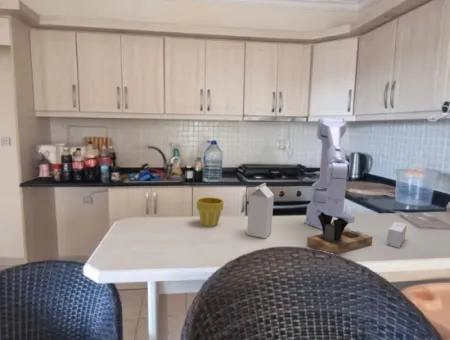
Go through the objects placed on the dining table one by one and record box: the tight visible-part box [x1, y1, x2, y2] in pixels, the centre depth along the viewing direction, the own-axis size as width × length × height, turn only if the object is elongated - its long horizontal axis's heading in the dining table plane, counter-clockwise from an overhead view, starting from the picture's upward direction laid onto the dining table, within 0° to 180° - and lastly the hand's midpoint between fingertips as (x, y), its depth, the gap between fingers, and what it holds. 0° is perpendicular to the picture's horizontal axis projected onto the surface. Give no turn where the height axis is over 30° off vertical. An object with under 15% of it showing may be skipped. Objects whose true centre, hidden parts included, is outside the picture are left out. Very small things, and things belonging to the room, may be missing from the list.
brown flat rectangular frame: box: [306, 227, 374, 256], centre depth 111 cm, size 10×22×3 cm, turn 123°
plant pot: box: [196, 196, 224, 228], centre depth 126 cm, size 10×10×10 cm
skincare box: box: [386, 221, 407, 248], centre depth 117 cm, size 6×4×12 cm
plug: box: [324, 221, 342, 243], centre depth 108 cm, size 4×4×7 cm
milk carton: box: [246, 182, 275, 239], centre depth 117 cm, size 7×7×19 cm
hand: (331, 237), depth 108 cm, fingers closed on plug, 4 cm apart
